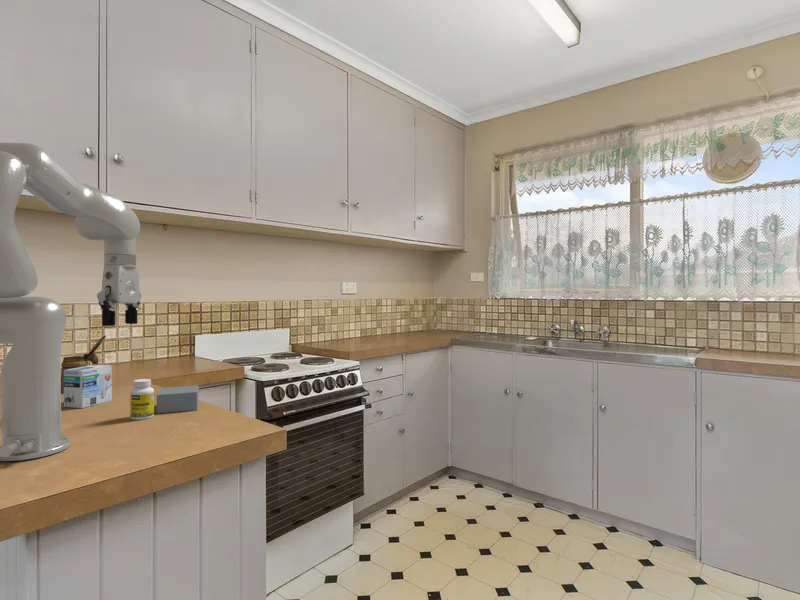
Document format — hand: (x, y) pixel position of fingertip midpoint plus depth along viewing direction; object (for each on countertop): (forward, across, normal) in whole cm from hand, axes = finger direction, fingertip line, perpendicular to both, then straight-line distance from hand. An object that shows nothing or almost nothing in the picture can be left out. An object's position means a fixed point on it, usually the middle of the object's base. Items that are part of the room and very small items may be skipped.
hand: (120, 324), depth 126 cm
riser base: (+24, +5, -14) cm, 28 cm away
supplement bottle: (+24, -5, -9) cm, 26 cm away
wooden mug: (+24, +28, +31) cm, 48 cm away
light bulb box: (+24, +9, +15) cm, 30 cm away
